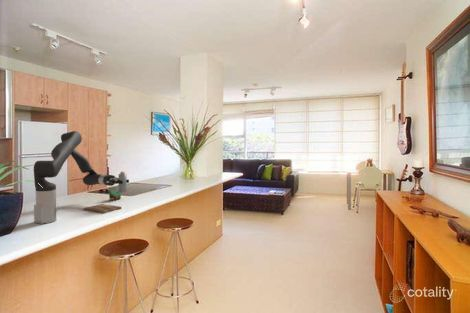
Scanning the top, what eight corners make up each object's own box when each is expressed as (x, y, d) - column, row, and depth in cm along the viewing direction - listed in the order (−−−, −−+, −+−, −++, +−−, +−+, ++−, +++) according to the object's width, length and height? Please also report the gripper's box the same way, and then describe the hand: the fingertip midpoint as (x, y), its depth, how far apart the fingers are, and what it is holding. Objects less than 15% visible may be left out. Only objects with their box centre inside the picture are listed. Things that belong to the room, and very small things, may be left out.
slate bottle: (122, 192, 185) (122, 172, 185) (116, 191, 187) (116, 171, 187) (128, 191, 190) (128, 171, 189) (122, 190, 192) (122, 171, 191)
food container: (115, 201, 205) (115, 187, 204) (108, 200, 206) (108, 187, 205) (125, 198, 217) (125, 185, 216) (118, 197, 218) (118, 185, 217)
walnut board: (103, 213, 170) (103, 211, 170) (83, 210, 177) (83, 208, 177) (121, 208, 183) (121, 206, 183) (101, 205, 190) (101, 203, 190)
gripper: (98, 175, 187) (117, 177, 180) (115, 173, 200) (133, 175, 193) (98, 186, 188) (117, 188, 181) (115, 184, 201) (133, 185, 194)
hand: (125, 181), depth 187 cm, fingers closed on slate bottle, 5 cm apart
